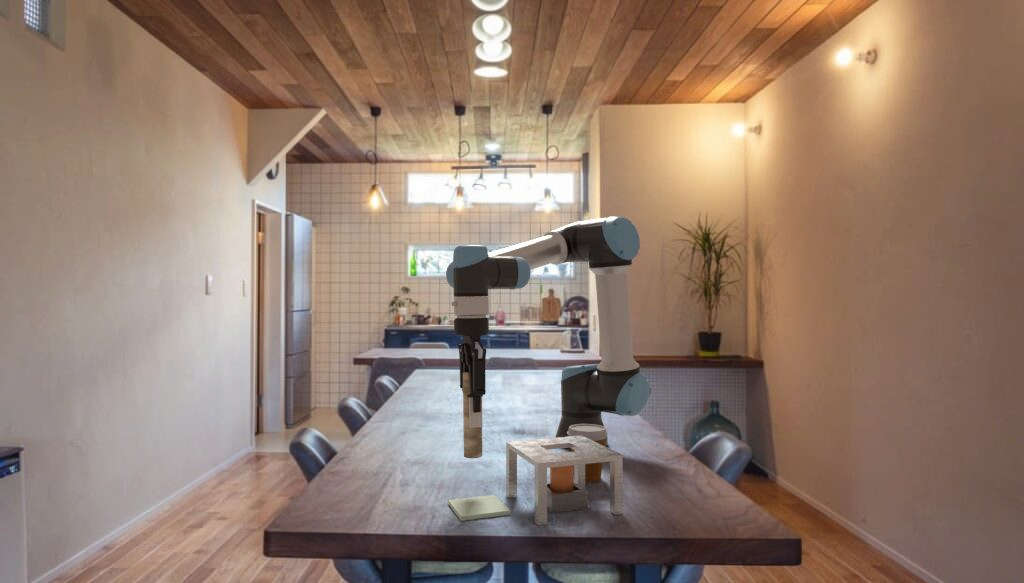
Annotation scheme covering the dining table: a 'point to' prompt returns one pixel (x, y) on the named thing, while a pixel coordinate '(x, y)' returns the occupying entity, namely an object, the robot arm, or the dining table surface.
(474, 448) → the rod
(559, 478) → the button
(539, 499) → the stand
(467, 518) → the pad
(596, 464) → the disposable coffee cup
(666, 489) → the dining table surface
